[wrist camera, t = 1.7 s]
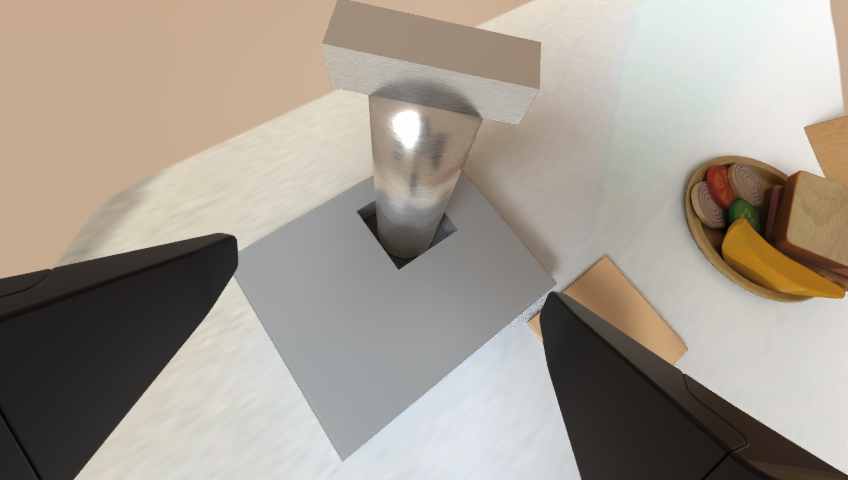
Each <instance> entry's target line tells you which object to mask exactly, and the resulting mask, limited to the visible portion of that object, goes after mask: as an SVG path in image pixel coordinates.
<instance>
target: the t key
mask: <svg viewBox="0 0 848 480" xmlns="http://www.w3.org/2000/svg"><path fill="white" fill-rule="evenodd" d="M322 45H323V50H324V55H325V60H326V65H327V70H328V75H329V80H330V84H331V87H333V88H338V89H343V90H348V91H353V92H358V93H362V94H367V95H369V110H370V125H371V140H372V155H373V170H374V185H375V200H376V215H377V230H378V238H379V241H380V243H381V245H382V246H383V247H384V249H385V250H386V251H387V252H389V253H390V254H392V255H394V256H396V257H400V258H412V257H416V256H418V255H420V254H422V253H423V252H425V251H426V250H427V249H428V247H429V246H430V244H431V242H432V240H433V237H434V235H435V233H436V230H437V228H438V225H439V223H440V221H441V218H442V216H443V213H444V211H445V209H446V206H447V204H448V201H449V199H450V197H451V194H452V192H453V189H454V187H455V185H456V182H457V180H458V177H459V175H460V172H461V170H462V168H463V165H464V163H465V160H466V158H467V156H468V153H469V151H470V148H471V146H472V144H473V141H474V139H475V136H476V134H477V132H478V129H479V127H480V124H481V122H482V120H483V118H485V119H490V120H495V121H500V122H505V123H510V124H515V125H519V123H520V121H521V120H522V118H523V116H524V115H525V113H526V111H527V109H528V108H529V106H530V104H531V103H532V101H533V99H534V97H535V96H536V94H537V92H538V91H539V83H540V53H541V42H537V41H532V40H527V39H523V38H518V37H514V36H509V35H505V34H500V33H495V32H491V31H486V30H482V29H477V28H473V27H468V26H463V25H459V24H454V23H449V22H445V21H440V20H436V19H431V18H427V17H422V16H418V15H413V14H409V13H404V12H399V11H395V10H390V9H386V8H381V7H376V6H372V5H367V4H363V3H358V2H354V1H349V0H338V1H337V3H336V6H335V9H334V12H333V14H332V17H331V20H330V23H329V26H328V29H327V31H326V34H325V37H324V40H323V43H322Z"/></svg>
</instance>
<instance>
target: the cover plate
mask: <svg viewBox="0 0 848 480" xmlns="http://www.w3.org/2000/svg"><path fill="white" fill-rule="evenodd" d="M374 213H376V200H375V185H374V176H372V177H370V178H368V179H366V180H365V181H363V182H361V183H359V184H358V185H356V186H354V187H352V188H351V189H349V190H347V191H345V192H343V193H342V194H340V195H338V196H336V197H335V198H333V199H331V200H329V201H327V202H326V203H324V204H322V205H320V206H319V207H317V208H315V209H313V210H311V211H310V212H308V213H306V214H304V215H303V216H301V217H299V218H297V219H296V220H294V221H292V222H290V223H288V224H287V225H285V226H283V227H281V228H280V229H278V230H276V231H274V232H272V233H271V234H269V235H267V236H265V237H264V238H262V239H260V240H258V241H257V242H255V243H253V244H251V245H249V246H248V247H246V248H244V249H242V250H241V251H239V252H238V267H237V270H236V271H235V273H234V275H233V276H234V278H235V279H236V281H237V283H238V284H239V286H240V288H241V289H242V291H243V293H244V295H245V296H246V298H247V300H248V301H249V303H250V305H251V307H252V308H253V310H254V312H255V313H256V315H257V317H258V318H259V320H260V322H261V324H262V325H263V327H264V329H265V330H266V332H267V334H268V336H269V337H270V339H271V341H272V342H273V344H274V346H275V348H276V349H277V351H278V353H279V354H280V356H281V358H282V359H283V361H284V363H285V365H286V366H287V368H288V370H289V371H290V373H291V375H292V377H293V378H294V380H295V382H296V383H297V385H298V387H299V388H300V390H301V392H302V394H303V395H304V397H305V399H306V400H307V402H308V404H309V406H310V407H311V409H312V411H313V412H314V414H315V416H316V418H317V419H318V421H319V423H320V424H321V426H322V428H323V429H324V431H325V433H326V435H327V436H328V438H329V440H330V441H331V443H332V445H333V447H334V448H335V450H336V452H337V453H338V455H339V457H340V458H341V460H342V462H343V461H344V460H345V459H347V458H348V457H349V456H350V455H351V454H353V453H354V452H355V451H356V450H357V449H359V448H360V447H361V446H362V445H363V444H365V443H366V442H367V441H368V440H369V439H371V438H372V437H373V436H374V435H375V434H377V433H378V432H379V431H380V430H381V429H383V428H384V427H385V426H386V425H387V424H389V423H390V422H391V421H392V420H393V419H395V418H396V417H397V416H398V415H399V414H401V413H402V412H403V411H404V410H406V409H407V408H408V407H409V406H410V405H412V404H413V403H414V402H415V401H416V400H418V399H419V398H420V397H421V396H422V395H424V394H425V393H426V392H427V391H428V390H430V389H431V388H432V387H433V386H434V385H436V384H437V383H438V382H439V381H440V380H442V379H443V378H444V377H445V376H446V375H448V374H449V373H450V372H451V371H452V370H454V369H455V368H456V367H457V366H458V365H460V364H461V363H462V362H463V361H464V360H466V359H467V358H468V357H469V356H470V355H472V354H473V353H474V352H475V351H476V350H478V349H479V348H480V347H481V346H482V345H484V344H485V343H486V342H487V341H488V340H490V339H491V338H492V337H493V336H495V335H496V334H497V333H498V332H499V331H501V330H502V329H503V328H504V327H505V326H507V325H508V324H509V323H510V322H511V321H513V320H514V319H515V318H516V317H517V316H519V315H520V314H521V313H522V312H523V311H525V310H526V309H527V308H528V307H529V306H531V305H532V304H533V303H534V302H535V301H537V300H538V299H539V298H540V297H541V296H543V295H544V294H545V293H546V292H547V291H549V290H550V289H551V288H552V287H553V286H555V285H556V284H557V283H556V282H555V281H554V279H553V278H552V277H551V276H550V275H549V273H548V272H547V271H546V270H545V269H544V267H543V266H542V265H541V264H540V263H539V261H538V260H537V259H536V258H535V257H534V255H533V254H532V253H531V252H530V251H529V249H528V248H527V247H526V246H525V245H524V243H523V242H522V241H521V240H520V239H519V237H518V236H517V235H516V234H515V233H514V231H513V230H512V229H511V228H510V227H509V225H508V224H507V223H506V222H505V221H504V219H503V218H502V217H501V216H500V215H499V213H498V212H497V211H496V210H495V209H494V207H493V206H492V205H491V204H490V203H489V201H488V200H487V199H486V198H485V197H484V195H483V194H482V193H481V192H480V191H479V189H478V188H477V187H476V186H475V185H474V183H473V182H472V181H471V180H470V179H469V177H468V176H467V175H466V174H465V173H464V171H463V170H461V172H460V175H459V177H458V180H457V182H456V185H455V187H454V189H453V192H452V194H451V197H450V199H449V201H448V204H447V206H446V209H445V211H444V213H443V216H442V218H441V221H440V225H441V226H442V227H443V228H444V230H445V231H446V232H447V234H448V235H449V236H448V237H447V238H445V239H444V240H442V241H441V242H439V243H438V244H436V245H435V246H433V247H432V248H430V249H429V250H427V251H426V252H424V253H423V254H421V255H420V256H419V257H417V258H416V259H414V260H413V261H411V262H410V263H408V264H407V265H405V266H404V267H402V268H401V269H399V270H398V268H397V267H396V266H395V264H394V263H393V262H392V260H391V259H390V257H389V256H388V255H387V253H386V252H385V250H384V249H383V248H382V246H381V245H380V243H379V242H378V241H377V239H376V238H375V236H374V235H373V234H372V232H371V231H370V229H369V228H368V227H367V225H366V224H365V223H364V221H363V220H364V219H366V218H367V217H369V216H371V215H372V214H374Z"/></svg>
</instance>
